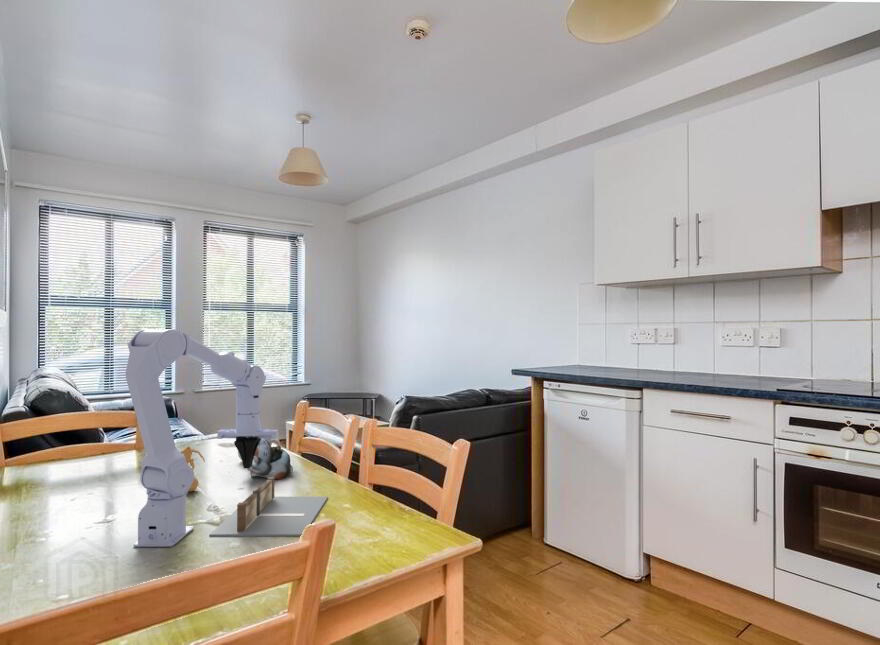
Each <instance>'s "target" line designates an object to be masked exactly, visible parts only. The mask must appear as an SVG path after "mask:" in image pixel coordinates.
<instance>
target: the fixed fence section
mask: <svg viewBox="0 0 880 645" xmlns="http://www.w3.org/2000/svg"><path fill="white" fill-rule="evenodd" d="M236 507H237V508H236V510H237V532H244V530H245V529H246V527H247V526H248V525H249V524H250V523H251V522H252V521H253V520H254V519H255V518H256V517H257V516H259V515H260V490H257V489H255V490H252V493H250V495H249V496H248V497H247V498H245V500H244V501H242V502H239V503H237V506H236Z"/></svg>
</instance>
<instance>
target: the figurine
mask: <svg viewBox="0 0 880 645" xmlns="http://www.w3.org/2000/svg"><path fill="white" fill-rule="evenodd" d="M180 452H181V453H182V454H183V455H184V456H185V458H186V462H187V464H188V465H189V466H190V467H191V468H192V470H193V471H194V470H195V468H196V466H195V463H194V458H192V455H193V453H196V454H198V455H199V457H200V458H202V460H203V462H204V463H205V462H206V461H205V458H204V456H203V455H202V453H201V452H200V451H199V450H196V449H194V448H191V446H190V445H188V446H186V447H184V448H183V449H182V450H180ZM198 486H199V479H197V477H195V476H194V481H193V484H192V486H191V487H190V489H189V490H188V493H191V492H193V491H195V490H197V489H198Z"/></svg>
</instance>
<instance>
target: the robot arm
mask: <svg viewBox="0 0 880 645" xmlns="http://www.w3.org/2000/svg"><path fill="white" fill-rule="evenodd" d="M127 348H128V352H129V354H128V359H127V364H126V369H125V379H126V383H127V387H128V392H129V394H130V398H131V401H132V405H133V406H132V407H133V409H134V413H135V415H136V416H135V417H136V420H137V424H138V428H139V433H140V435H141V436H140V437H141V439H142V443H143V447H144V450H145V456H144V457H143V458H142V459H141V460H140V466H141V473H140V483H141V485H142V487H143V488H145V489H146V495H147V498H146V499H147V501H146V503H145V505H144V506H143V507H142V508H141V509H140V511H139V513H138V516H137V540H136V542H134V543H133V547H139V548H140V547H153V548H154V547H156V548H157V547H158V548H159V547H173V546H174V545H176V544H177V543H178V542H179V541H180V540H182V539H183V538H184V537H185V536H186V535H188V534H189V533H190V532H192V531H193V530H194V528H195V526H193V525H187V494H189V492H188V490H189V489H190V487H191V486H192V484H193V481H194V477H195V472H194V470H192V466H190V464H189V463H188V464H187V462H186V458H185V456H184V455H183V454H182V453H181V450H179V449H178V448H177V447H176V443H175V440H174V435H173V432H172V431H173V430H172V427H171V423H170V419H169V415H168V412H167V407H166V403H165V399H164V395H163V392H162V388H161V384H160V379H159V378H160V376H161V375H162V373H163V372H164V371H165V370H166V369H167V368H168V367H170V366H171V365H172V364H173V363H174V362H176V361H177V360H179V358H181V356H186V357H187V358H190V359H193V360H195V361H198V362H200V363H203V364H205V365H208V366H210V371H211V373H212V374H215V375H216V376H218V377H220V378H222V379H225V380H227V381H229V382H231V385H232V386H233V388H234V387H235V428H232V429H220V430H217V433H216V434H217V438H216V439H217V440H222V439H235V441H234V442H233V445H234V446H235V448H236V450H237V452H238V451H239V454H240V456H241V459H242V460H241V459H240V460H241V462H242V466H243V469H247V468H250V467H252V462H253V458H254V455H255V452H256V449H257V447H258V445H259V443H260V441H261V438H272V439H278V438H279V429H271V428H270V429H269V428H261V394H262V393H263V386H264V385H265V382H266V379H267V376H266V375H265V372H264V370H263V368H262V367H261V366H259V365H254V364H252V365H251V364H250V363H249V361H248V360H246V359H240V358H239V357H237V356H235V352H233V351H230V350H229V351H222V352H219V353H218V352H217V351H215V350H213V349H212V348H210V347H208V346H206V345H205V344H203V343H201V342H200V341H198V340H196V339H194V338H193V337H191V335H189V334H188V333H185V332H182V331H180V330H178V329H175V328H167V329H150V328H143V329H140V330H138V331H137V332H136V333H135V334H134V335H133V337H132V338H131V340H129V342H128V343H127Z"/></svg>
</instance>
